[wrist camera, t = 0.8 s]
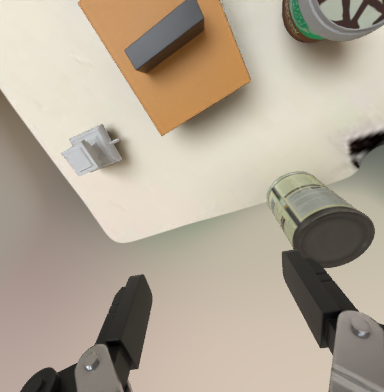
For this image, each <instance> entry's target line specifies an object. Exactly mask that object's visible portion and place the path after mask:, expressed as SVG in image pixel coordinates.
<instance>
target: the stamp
mask: <svg viewBox="0 0 384 392" xmlns="http://www.w3.org/2000/svg"><path fill="white" fill-rule="evenodd" d="M69 141H70V142H71V144H72V145H73V146H72V147H71V148H69V149H68V150H66V151H64V152H62V153H61V154H62V155H63V156H64V158H65V159H66V160H67V161H68V163H69V164H70V165H71V167H72V168H73V169H74V170H75V172H76V173H77V174H78V176H81V175H83V174H86V173H88V172H93V171H96V170H98V169H101V168H103V167H106V166H108V165H111V164H113V163H116V162H118V161H121V160H122V158H121V156H120V154H119V152H118V151H117V149H116V147H115V145H114V144H115V143H117V142H119V141H120V139H119V138H117V139H115V140H111V138H110V136H109V134H108V133H107V131H106V129H105V127H104V126H103V124H101V125H99V126H97V127H94V128H92V129H90V130H88V131H85V132H83V133H81V134H79V135H77V136H74V137H72V138H70V139H69Z"/></svg>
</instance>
